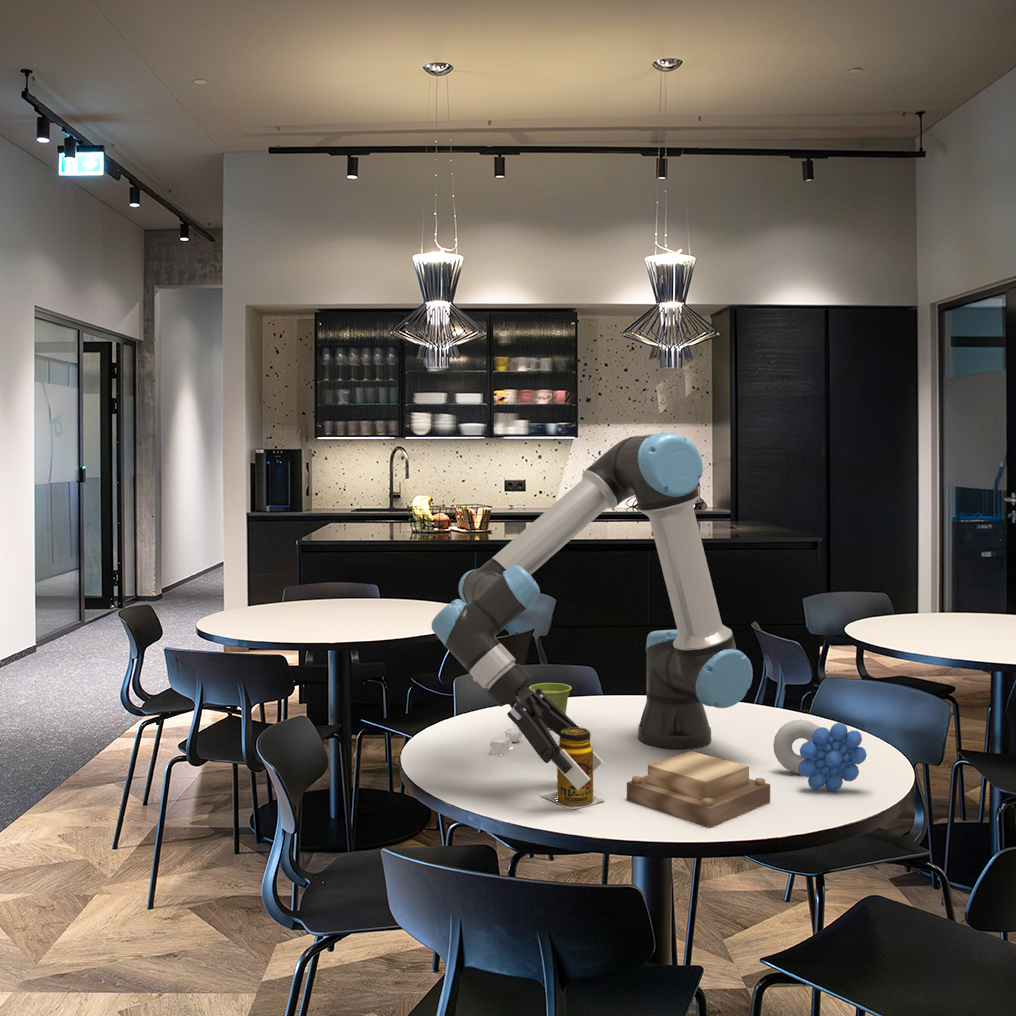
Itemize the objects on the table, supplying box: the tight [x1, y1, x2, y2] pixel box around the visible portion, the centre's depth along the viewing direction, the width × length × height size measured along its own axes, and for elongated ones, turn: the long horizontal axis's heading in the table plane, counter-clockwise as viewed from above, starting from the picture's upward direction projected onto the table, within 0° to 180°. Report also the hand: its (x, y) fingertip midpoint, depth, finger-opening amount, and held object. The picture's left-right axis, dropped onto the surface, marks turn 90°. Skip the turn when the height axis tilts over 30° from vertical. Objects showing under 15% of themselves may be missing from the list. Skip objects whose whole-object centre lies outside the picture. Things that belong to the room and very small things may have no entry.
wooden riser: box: [626, 750, 771, 828], centre depth 155 cm, size 17×17×6 cm
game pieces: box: [489, 727, 523, 757], centre depth 186 cm, size 12×3×3 cm, turn 161°
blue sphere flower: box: [798, 722, 868, 792], centre depth 160 cm, size 12×7×12 cm, turn 87°
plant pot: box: [528, 682, 572, 729], centre depth 203 cm, size 9×9×9 cm
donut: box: [772, 719, 820, 775], centre depth 169 cm, size 10×4×10 cm, turn 79°
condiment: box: [541, 727, 606, 811], centre depth 156 cm, size 7×8×12 cm
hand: (590, 775), depth 155 cm, fingers open, 9 cm apart
